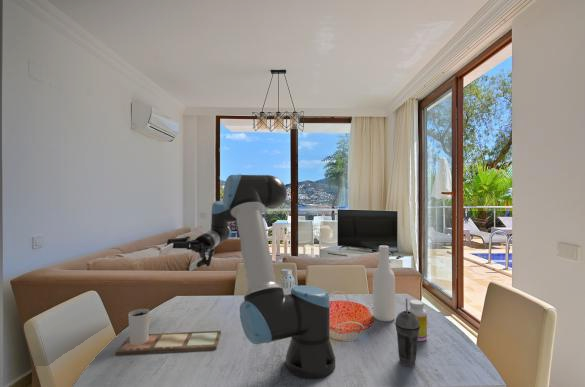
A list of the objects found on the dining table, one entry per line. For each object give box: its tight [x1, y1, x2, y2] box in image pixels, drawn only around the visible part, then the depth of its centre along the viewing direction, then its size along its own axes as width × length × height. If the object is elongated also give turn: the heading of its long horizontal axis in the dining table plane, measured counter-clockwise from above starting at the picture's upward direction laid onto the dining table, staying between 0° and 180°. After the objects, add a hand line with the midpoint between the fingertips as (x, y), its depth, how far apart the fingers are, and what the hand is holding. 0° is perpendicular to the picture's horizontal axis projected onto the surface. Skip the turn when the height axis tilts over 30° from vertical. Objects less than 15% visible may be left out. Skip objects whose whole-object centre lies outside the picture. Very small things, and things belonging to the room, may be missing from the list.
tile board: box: [115, 330, 222, 356], centre depth 108 cm, size 12×32×1 cm, turn 96°
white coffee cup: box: [127, 308, 151, 345], centre depth 107 cm, size 7×7×10 cm
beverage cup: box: [394, 298, 420, 367], centre depth 96 cm, size 7×7×20 cm
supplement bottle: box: [408, 299, 428, 342], centre depth 112 cm, size 7×7×13 cm
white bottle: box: [372, 244, 396, 323], centre depth 129 cm, size 9×9×30 cm
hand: (175, 260), depth 115 cm, fingers open, 13 cm apart
